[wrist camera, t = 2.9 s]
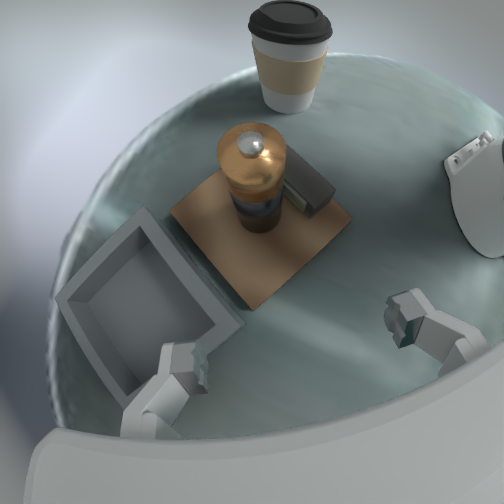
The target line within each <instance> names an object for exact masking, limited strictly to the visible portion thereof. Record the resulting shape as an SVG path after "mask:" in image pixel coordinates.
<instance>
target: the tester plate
mask: <svg viewBox="0 0 504 504" xmlns="http://www.w3.org/2000/svg"><path fill="white" fill-rule="evenodd" d="M285 144H286V143H285ZM335 191H336V189H335V188H334V187H333V186H332V185H331V184H330V183H329V182H328V181H327V180H325V179H324V178H323V177H322V176H321V175H320V174H319V173H318V172H317V171H316V170H315V169H314V168H313V167H312V166H310V165H309V164H308V163H307V162H306V161H305V160H304V159H303V158H302V157H300V156H299V155H298V154H297V153H296V152H295V151H294V150H292V149H291V148H290V147H289V146H288V145H287V144H286V160H285V172H284V184H283V195H282V206H281V216H280V220H279V222H278V224H277V225H276V226H275V227H274V228H273V229H272V230H270V231H269V232H266V233H260V234H258V233H252V232H250V231H248V230H246V229H245V228H244V227H243V226H242V225H241V223H240V221H239V218H238V215H237V212H236V210H235V207H234V204H233V201H232V198H231V195H230V192H229V189H228V187H227V184H226V181H225V178H224V175H223V172H222V169H221V168H220V169H219V170H218V171H216V172H215V173H214V174H213V175H211V176H210V177H209V178H208V179H206V180H205V181H204V182H203V183H201V184H200V185H199V186H198V187H196V188H195V189H194V190H193V191H192V192H190V193H189V194H188V195H187V196H186V197H184V198H183V199H182V200H181V201H180V202H179V203H177V204H176V205H175V206H174V207H173V208H172V209H170V210H169V211H170V212H171V214H172V215H173V216H174V217H175V219H176V220H177V221H178V222H179V224H180V225H181V226H182V227H183V229H184V230H185V231H186V232H187V234H188V235H189V236H190V237H191V238H192V240H193V241H194V242H195V243H196V245H197V246H198V247H199V248H200V249H201V251H202V252H203V253H204V254H205V255H206V257H207V258H208V259H209V260H210V261H211V263H212V264H213V265H214V266H215V267H216V269H217V270H218V271H219V272H220V273H221V274H222V276H223V277H224V278H225V279H226V280H227V281H228V283H229V284H230V285H231V286H232V287H233V288H234V290H235V291H236V292H237V293H238V294H239V295H240V297H241V298H242V299H243V300H244V301H245V302H246V303H247V305H248V306H249V307H250V308H251V309H252V310H253V311H254V310H255V309H256V308H257V307H259V306H260V305H261V304H262V303H263V302H264V301H265V300H267V299H268V298H269V297H270V296H271V295H272V294H273V293H275V292H276V291H277V290H278V289H279V288H280V287H281V286H282V285H284V284H285V283H286V282H287V281H288V280H289V279H290V278H291V277H292V276H294V275H295V274H296V273H297V272H298V271H299V270H300V269H301V268H302V267H303V266H304V265H306V264H307V263H308V262H309V261H310V260H311V259H312V258H313V257H314V256H315V255H316V254H317V253H319V252H320V251H321V250H322V249H323V248H324V247H325V246H326V245H327V244H328V243H329V242H330V241H331V240H332V239H333V238H334V237H335V236H336V235H338V234H339V233H340V232H341V231H342V230H343V229H344V228H345V227H346V226H347V225H348V224H349V223H350V222H351V221H352V219H353V218H352V217H351V216H350V215H349V214H348V213H347V212H346V211H345V210H344V209H343V208H342V207H341V206H340V205H339V204H338V203H337V202H336V201H335V200H334V199H333V198H332V197H333V195H334V193H335Z"/></svg>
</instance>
